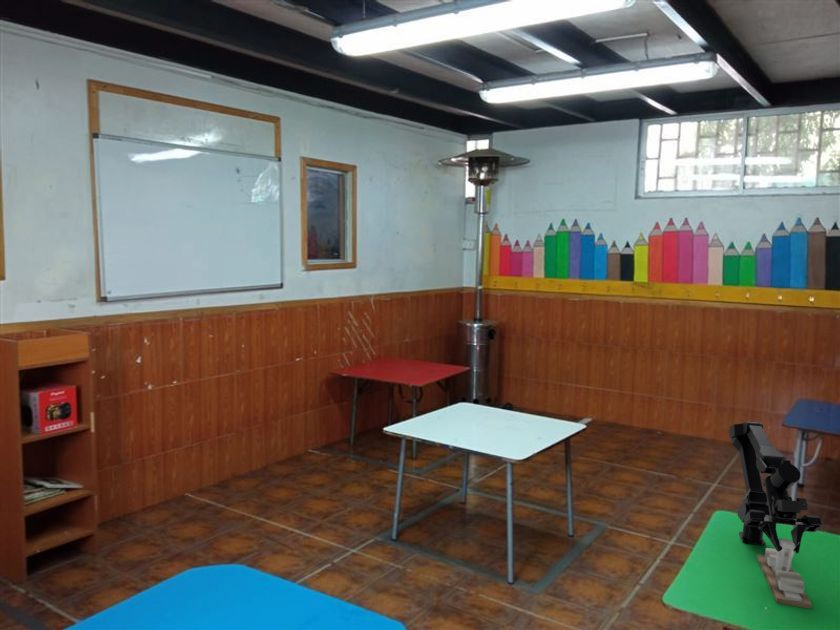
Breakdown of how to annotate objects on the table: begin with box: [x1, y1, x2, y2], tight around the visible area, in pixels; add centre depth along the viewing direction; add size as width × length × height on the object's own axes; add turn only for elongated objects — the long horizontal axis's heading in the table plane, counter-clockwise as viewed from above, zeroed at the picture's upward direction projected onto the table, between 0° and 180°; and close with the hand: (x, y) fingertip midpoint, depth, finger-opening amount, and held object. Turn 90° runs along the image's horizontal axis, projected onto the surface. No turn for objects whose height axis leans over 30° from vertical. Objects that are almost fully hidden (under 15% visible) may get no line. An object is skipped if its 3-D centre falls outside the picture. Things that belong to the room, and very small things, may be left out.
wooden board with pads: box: [756, 547, 812, 609], centre depth 184 cm, size 24×8×5 cm, turn 165°
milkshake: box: [775, 537, 799, 572], centre depth 183 cm, size 4×5×10 cm
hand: (788, 552), depth 182 cm, fingers closed on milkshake, 4 cm apart
